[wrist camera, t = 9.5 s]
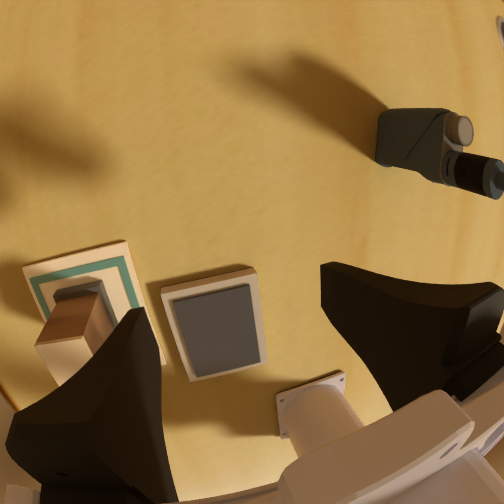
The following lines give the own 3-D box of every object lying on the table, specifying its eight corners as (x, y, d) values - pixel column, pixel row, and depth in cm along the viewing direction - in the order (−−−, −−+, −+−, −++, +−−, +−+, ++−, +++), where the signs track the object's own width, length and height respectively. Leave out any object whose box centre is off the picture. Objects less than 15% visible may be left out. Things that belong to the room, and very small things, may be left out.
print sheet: (166, 361, 23) (166, 365, 23) (75, 375, 22) (75, 378, 21) (126, 240, 19) (125, 242, 19) (23, 266, 17) (21, 268, 17)
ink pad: (265, 356, 26) (269, 365, 25) (189, 374, 24) (190, 384, 23) (253, 267, 22) (258, 274, 21) (160, 287, 21) (160, 296, 20)
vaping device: (372, 168, 22) (498, 203, 11) (377, 105, 20) (507, 107, 9) (395, 172, 23) (514, 207, 12) (400, 113, 21) (523, 121, 10)
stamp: (123, 335, 21) (115, 393, 16) (80, 342, 20) (64, 398, 15) (102, 279, 19) (82, 330, 14) (56, 289, 18) (27, 339, 13)
